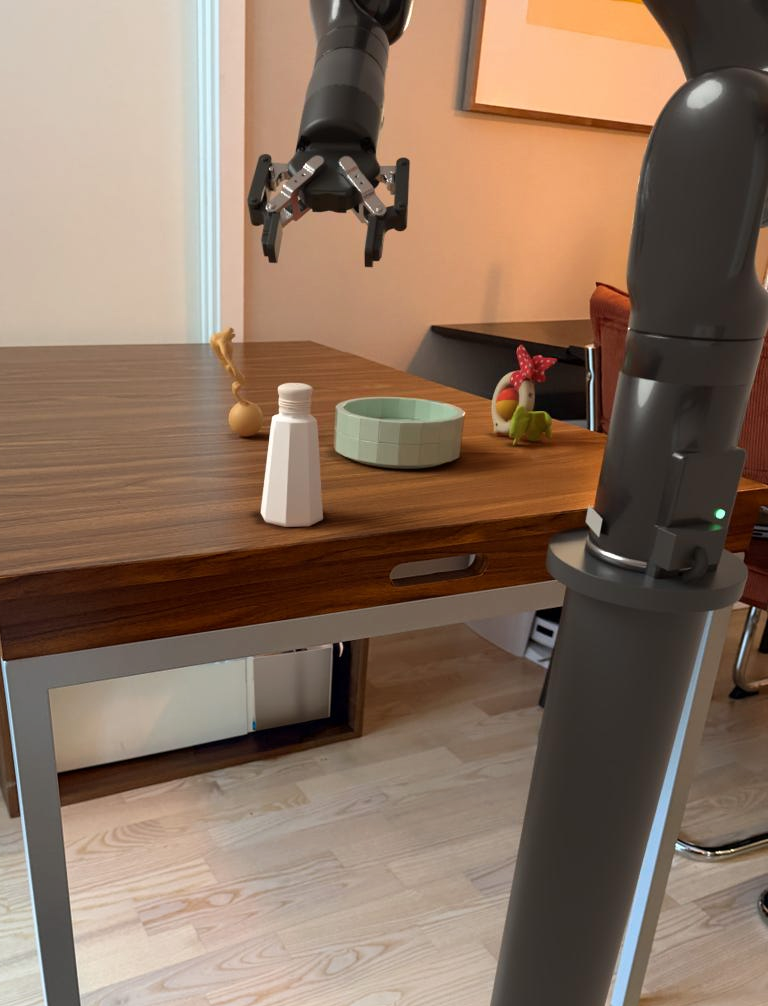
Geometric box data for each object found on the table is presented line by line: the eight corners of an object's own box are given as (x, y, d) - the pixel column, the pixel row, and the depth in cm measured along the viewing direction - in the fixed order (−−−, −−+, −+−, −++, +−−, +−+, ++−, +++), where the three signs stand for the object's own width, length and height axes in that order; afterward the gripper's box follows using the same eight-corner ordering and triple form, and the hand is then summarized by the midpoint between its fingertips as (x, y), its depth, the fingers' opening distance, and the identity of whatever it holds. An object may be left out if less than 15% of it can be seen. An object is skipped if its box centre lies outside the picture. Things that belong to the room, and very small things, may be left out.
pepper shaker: (335, 521, 73) (343, 388, 68) (282, 531, 70) (286, 393, 66) (299, 504, 77) (303, 377, 72) (247, 513, 74) (248, 382, 70)
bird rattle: (475, 454, 104) (523, 439, 96) (464, 361, 103) (512, 338, 95) (517, 451, 106) (568, 436, 98) (507, 360, 106) (557, 337, 97)
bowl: (483, 466, 91) (489, 418, 89) (367, 476, 86) (371, 425, 84) (420, 437, 102) (424, 394, 100) (314, 444, 98) (316, 399, 95)
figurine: (267, 444, 97) (268, 332, 92) (213, 445, 96) (212, 331, 91) (258, 428, 105) (259, 323, 99) (208, 428, 104) (207, 322, 98)
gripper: (262, 80, 78) (233, 222, 73) (421, 82, 76) (402, 228, 71) (271, 151, 85) (246, 285, 80) (417, 155, 83) (400, 292, 78)
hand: (319, 258), depth 75 cm, fingers open, 8 cm apart
